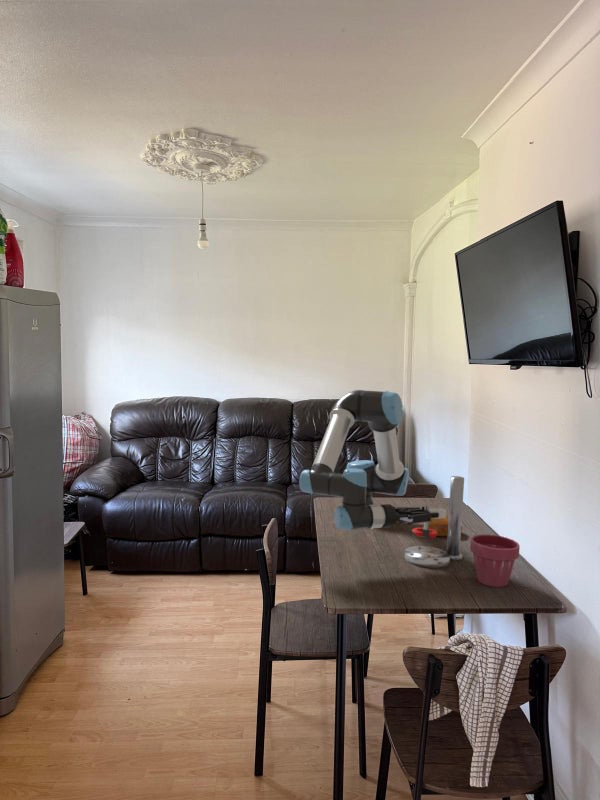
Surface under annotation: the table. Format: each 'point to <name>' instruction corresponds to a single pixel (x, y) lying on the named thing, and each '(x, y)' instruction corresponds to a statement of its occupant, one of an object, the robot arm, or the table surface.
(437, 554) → the paper towel holder
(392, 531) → the table surface
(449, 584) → the table surface
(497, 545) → the plant pot
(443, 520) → the croissant
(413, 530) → the tow hook
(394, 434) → the robot arm
